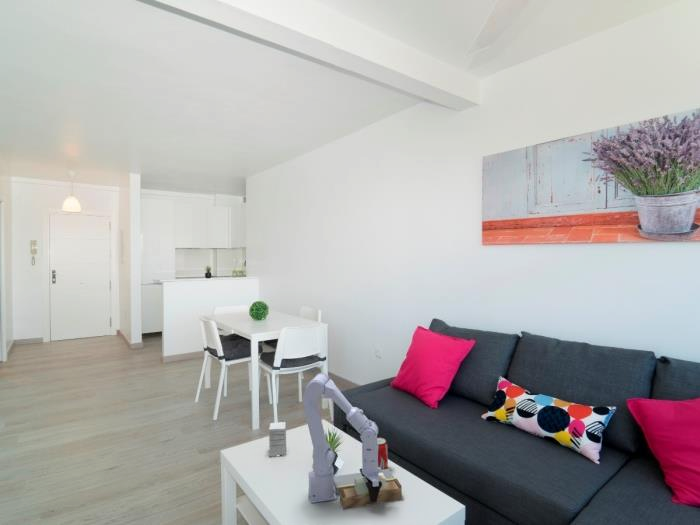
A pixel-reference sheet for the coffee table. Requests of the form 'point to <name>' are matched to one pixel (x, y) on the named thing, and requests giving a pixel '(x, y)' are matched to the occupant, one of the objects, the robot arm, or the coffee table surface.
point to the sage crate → (361, 485)
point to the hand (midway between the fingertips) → (370, 495)
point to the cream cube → (383, 480)
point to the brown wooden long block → (353, 500)
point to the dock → (348, 480)
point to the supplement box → (277, 438)
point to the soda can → (382, 453)
